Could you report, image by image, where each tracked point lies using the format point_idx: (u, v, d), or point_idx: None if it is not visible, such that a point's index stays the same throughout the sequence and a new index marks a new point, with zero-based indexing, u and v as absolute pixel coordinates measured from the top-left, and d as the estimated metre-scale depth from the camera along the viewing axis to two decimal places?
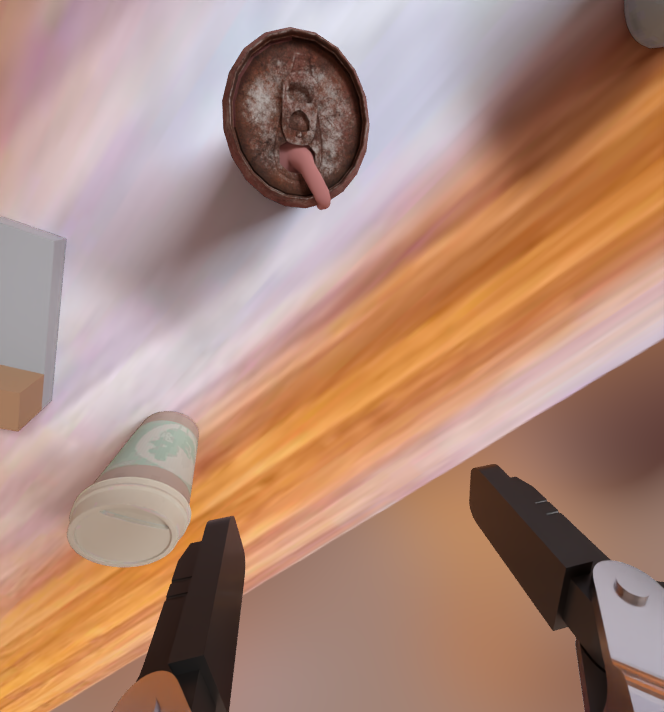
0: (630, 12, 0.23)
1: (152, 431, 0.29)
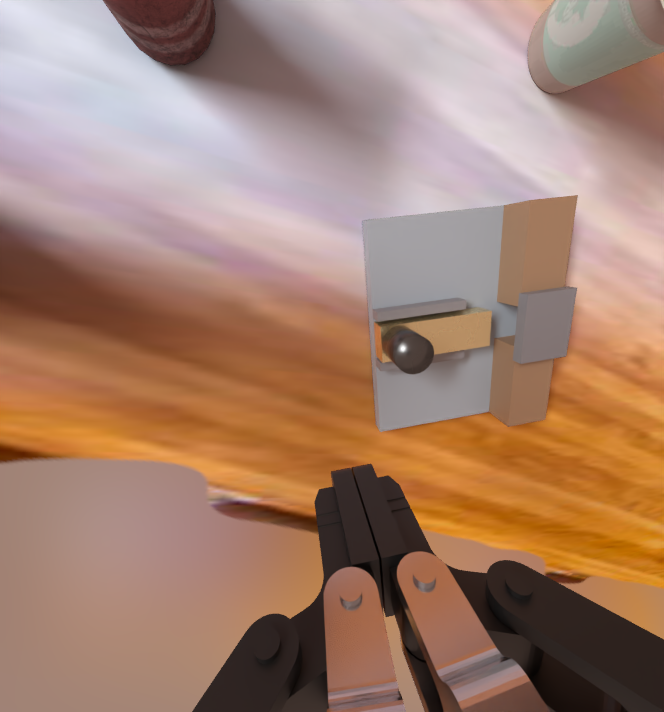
0: None
1: (563, 41, 0.21)
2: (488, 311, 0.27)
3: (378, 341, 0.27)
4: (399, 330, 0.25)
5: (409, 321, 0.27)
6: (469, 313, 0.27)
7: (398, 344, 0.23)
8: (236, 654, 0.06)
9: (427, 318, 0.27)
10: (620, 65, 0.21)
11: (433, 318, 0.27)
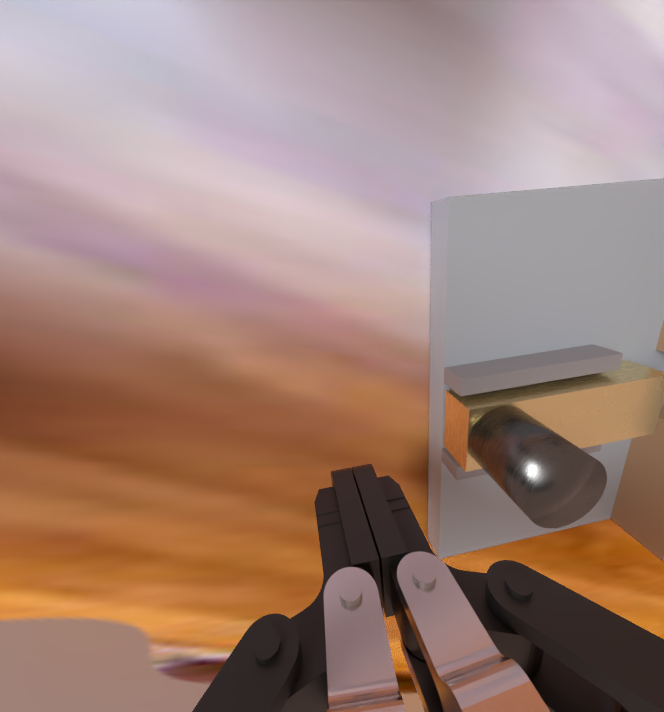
0: None
1: None
2: None
3: (456, 429, 0.14)
4: (513, 422, 0.12)
5: (519, 395, 0.14)
6: (629, 379, 0.14)
7: (533, 472, 0.10)
8: (236, 653, 0.06)
9: (551, 388, 0.14)
10: None
11: (565, 389, 0.14)
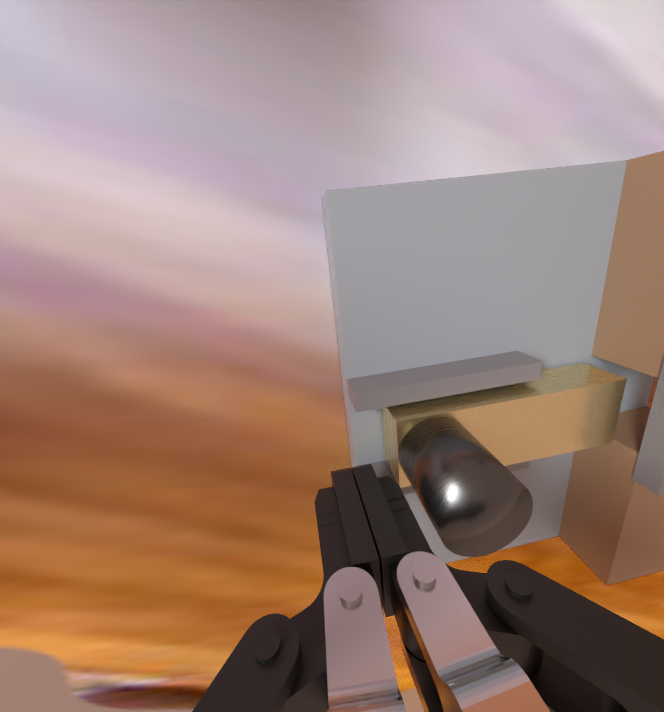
0: None
1: None
2: (619, 380, 0.13)
3: (390, 441, 0.13)
4: (439, 436, 0.11)
5: (456, 404, 0.13)
6: (580, 384, 0.13)
7: (446, 495, 0.09)
8: (236, 654, 0.06)
9: (493, 395, 0.13)
10: None
11: (506, 397, 0.13)
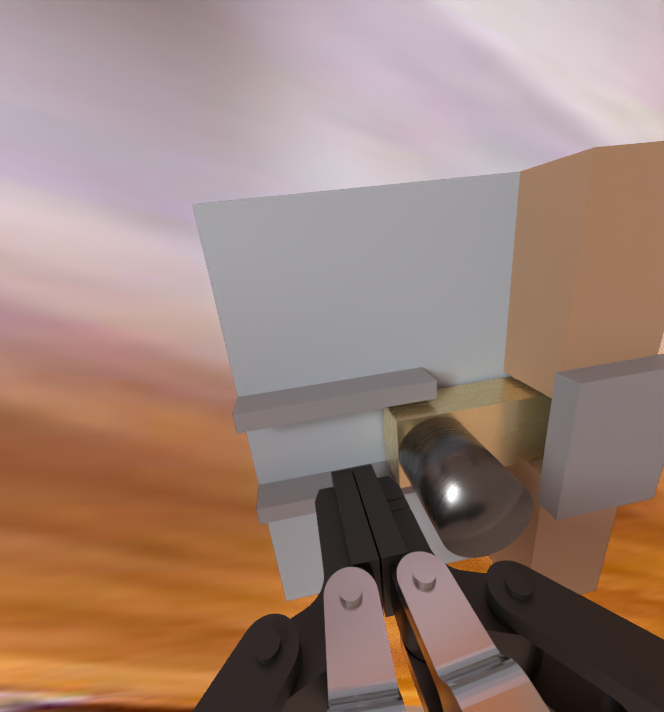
0: None
1: None
2: None
3: (391, 442, 0.13)
4: (439, 437, 0.11)
5: (457, 404, 0.13)
6: None
7: (446, 496, 0.09)
8: (236, 654, 0.06)
9: (493, 396, 0.13)
10: None
11: (507, 398, 0.13)
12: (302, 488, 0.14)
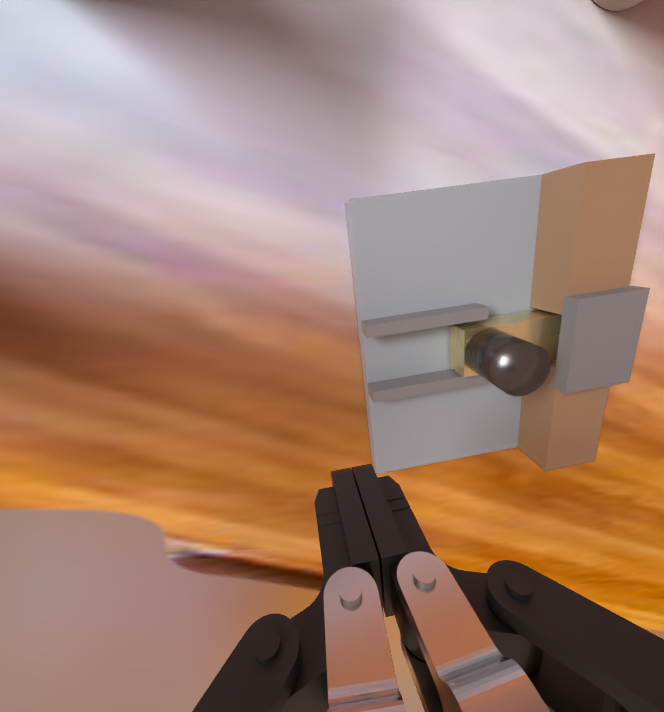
0: None
1: None
2: None
3: (457, 349, 0.21)
4: (493, 335, 0.18)
5: (501, 322, 0.20)
6: None
7: (501, 356, 0.17)
8: (236, 654, 0.06)
9: (524, 318, 0.20)
10: None
11: (533, 318, 0.20)
12: (398, 383, 0.22)
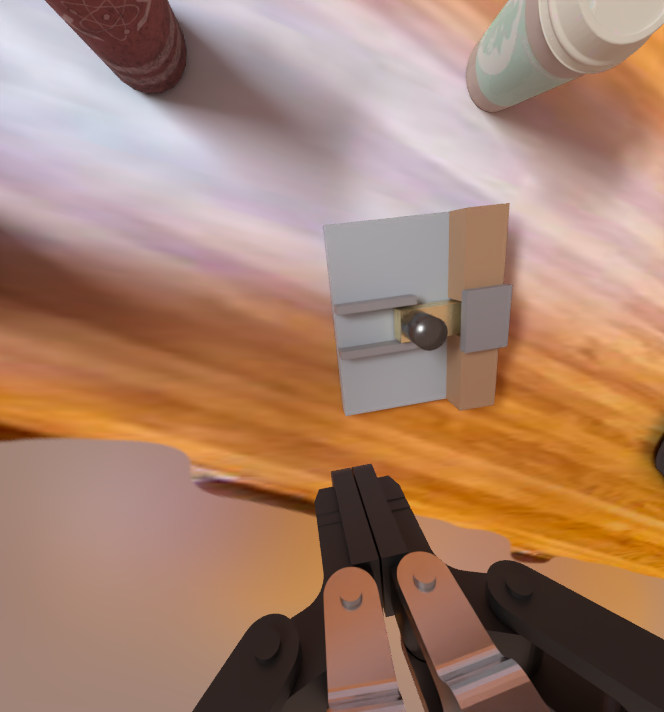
0: None
1: (489, 69, 0.24)
2: None
3: (397, 324, 0.31)
4: (416, 313, 0.29)
5: (425, 306, 0.31)
6: None
7: (417, 325, 0.27)
8: (236, 654, 0.06)
9: (440, 304, 0.31)
10: (536, 91, 0.24)
11: (446, 304, 0.31)
12: (358, 347, 0.32)
